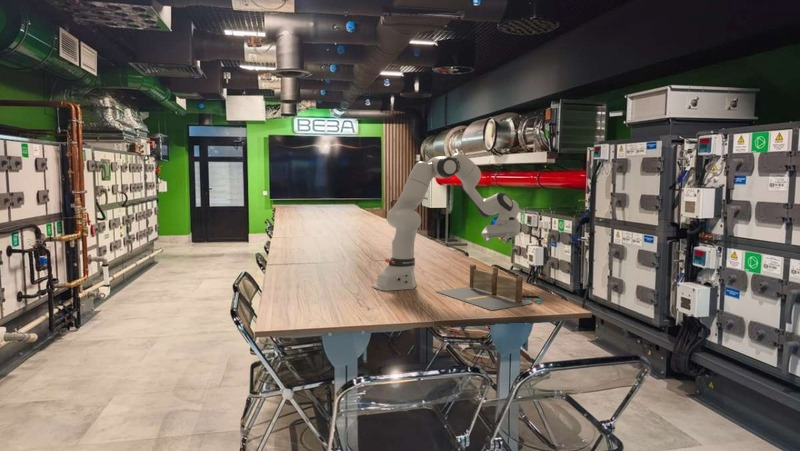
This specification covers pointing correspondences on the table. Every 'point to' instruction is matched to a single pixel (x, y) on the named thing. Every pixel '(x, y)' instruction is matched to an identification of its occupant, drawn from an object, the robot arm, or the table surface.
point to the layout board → (482, 298)
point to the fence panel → (480, 279)
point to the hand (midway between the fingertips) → (495, 241)
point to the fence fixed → (507, 286)
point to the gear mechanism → (532, 297)
